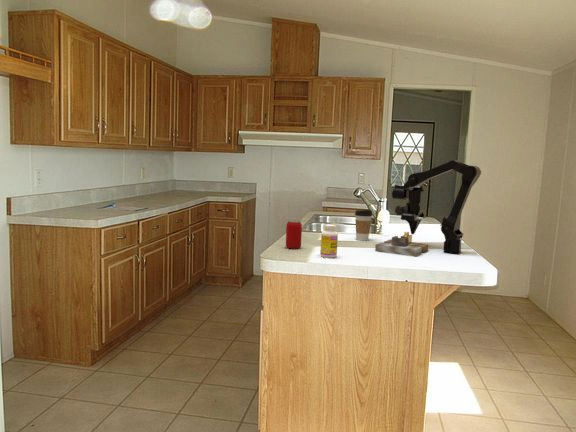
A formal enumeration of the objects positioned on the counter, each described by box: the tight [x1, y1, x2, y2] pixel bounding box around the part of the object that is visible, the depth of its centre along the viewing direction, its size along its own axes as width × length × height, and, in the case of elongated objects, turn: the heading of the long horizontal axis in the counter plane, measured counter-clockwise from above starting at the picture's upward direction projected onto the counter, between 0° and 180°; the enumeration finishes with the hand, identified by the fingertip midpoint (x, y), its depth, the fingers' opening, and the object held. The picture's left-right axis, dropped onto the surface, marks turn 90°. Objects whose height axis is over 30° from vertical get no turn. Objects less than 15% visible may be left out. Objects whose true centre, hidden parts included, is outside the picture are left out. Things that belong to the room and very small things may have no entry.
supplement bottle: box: [319, 223, 339, 259], centre depth 198 cm, size 7×7×13 cm
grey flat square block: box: [374, 235, 429, 257], centre depth 217 cm, size 18×18×6 cm
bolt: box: [400, 231, 413, 243], centre depth 221 cm, size 3×7×5 cm, turn 148°
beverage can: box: [285, 219, 303, 250], centre depth 215 cm, size 7×7×12 cm
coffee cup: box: [354, 209, 373, 242], centre depth 244 cm, size 8×8×15 cm
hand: (412, 234), depth 228 cm, fingers closed
